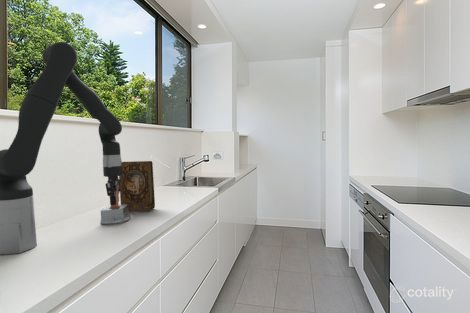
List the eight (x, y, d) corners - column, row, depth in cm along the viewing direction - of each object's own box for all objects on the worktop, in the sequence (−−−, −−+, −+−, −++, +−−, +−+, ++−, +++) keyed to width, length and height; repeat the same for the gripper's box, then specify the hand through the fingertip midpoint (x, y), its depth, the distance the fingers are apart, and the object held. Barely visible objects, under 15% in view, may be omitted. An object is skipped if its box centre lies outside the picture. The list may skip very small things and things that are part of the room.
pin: (119, 216, 113) (116, 186, 113) (109, 217, 113) (106, 186, 112) (121, 214, 117) (119, 184, 117) (112, 215, 117) (109, 185, 116)
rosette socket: (126, 223, 110) (125, 209, 110) (96, 225, 108) (95, 211, 108) (133, 215, 122) (132, 203, 122) (105, 217, 120) (105, 205, 120)
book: (119, 212, 130) (116, 162, 129) (125, 209, 135) (122, 161, 134) (150, 211, 128) (148, 161, 127) (155, 209, 134) (152, 160, 133)
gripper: (108, 164, 120) (110, 200, 121) (97, 167, 106) (100, 208, 107) (125, 163, 121) (127, 199, 122) (116, 166, 107) (119, 206, 108)
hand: (114, 203), depth 115 cm, fingers open, 4 cm apart
